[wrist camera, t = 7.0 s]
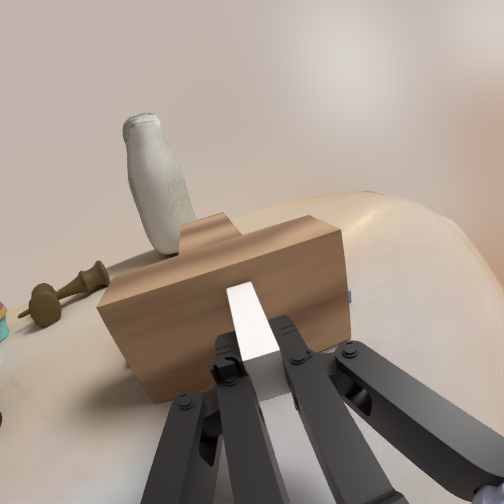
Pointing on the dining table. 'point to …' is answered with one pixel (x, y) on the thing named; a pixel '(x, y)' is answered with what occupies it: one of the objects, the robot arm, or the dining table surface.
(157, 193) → the glass bottle
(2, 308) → the cupcake
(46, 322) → the kendama
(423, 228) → the dining table surface
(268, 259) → the t block
